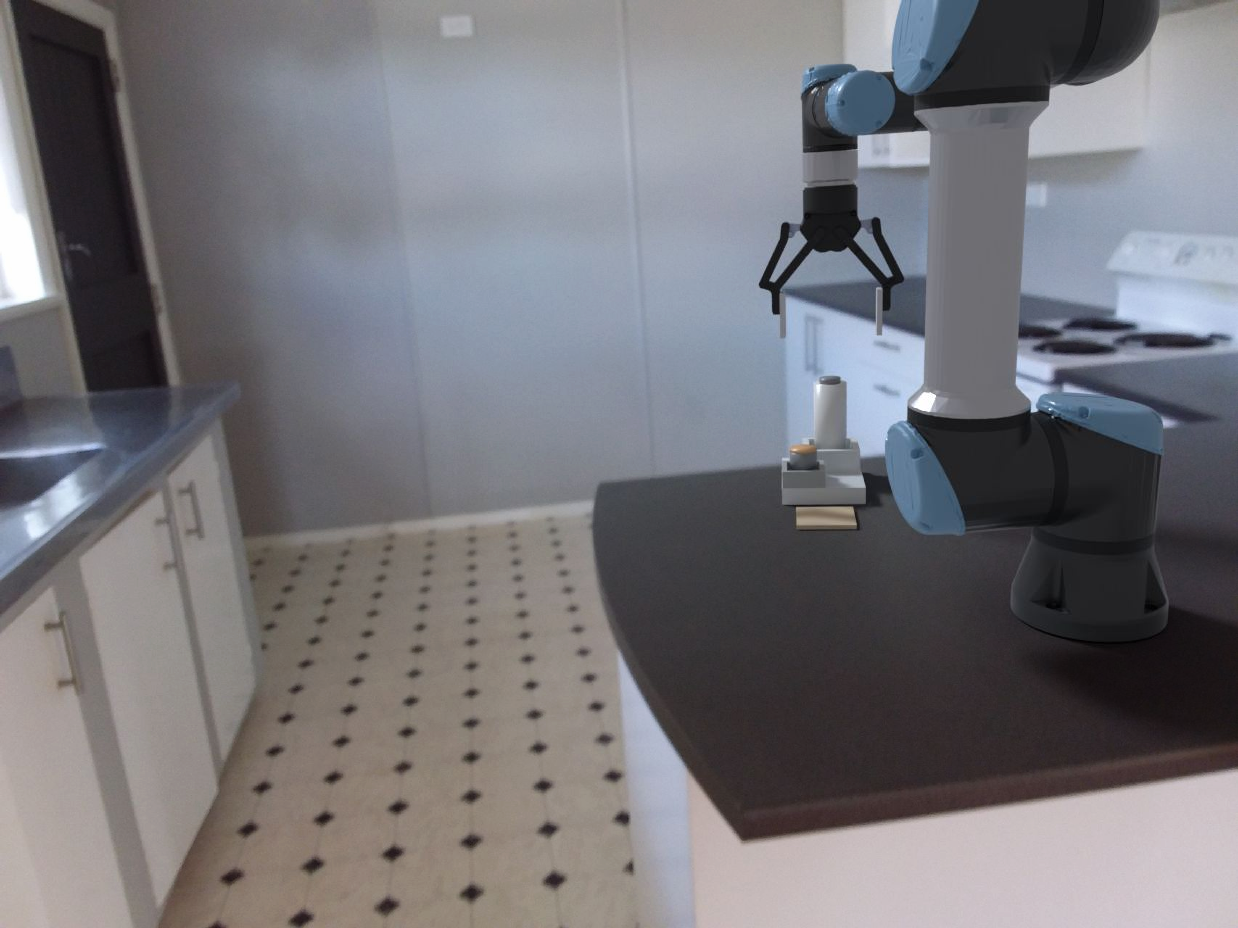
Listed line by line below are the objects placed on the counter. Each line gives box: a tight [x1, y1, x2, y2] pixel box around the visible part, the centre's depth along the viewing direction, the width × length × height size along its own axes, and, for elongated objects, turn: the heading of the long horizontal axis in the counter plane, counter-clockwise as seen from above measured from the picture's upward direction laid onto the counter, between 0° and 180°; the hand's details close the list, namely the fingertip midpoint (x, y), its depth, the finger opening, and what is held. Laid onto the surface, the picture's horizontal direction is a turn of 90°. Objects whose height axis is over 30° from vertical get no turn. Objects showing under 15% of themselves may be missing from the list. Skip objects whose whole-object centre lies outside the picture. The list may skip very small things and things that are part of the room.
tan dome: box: [788, 443, 817, 471], centre depth 149 cm, size 4×4×3 cm
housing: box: [781, 436, 867, 506], centre depth 154 cm, size 17×12×6 cm
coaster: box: [795, 506, 858, 531], centre depth 140 cm, size 8×8×1 cm
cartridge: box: [812, 375, 848, 450], centre depth 156 cm, size 5×5×14 cm
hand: (830, 335), depth 146 cm, fingers open, 13 cm apart
